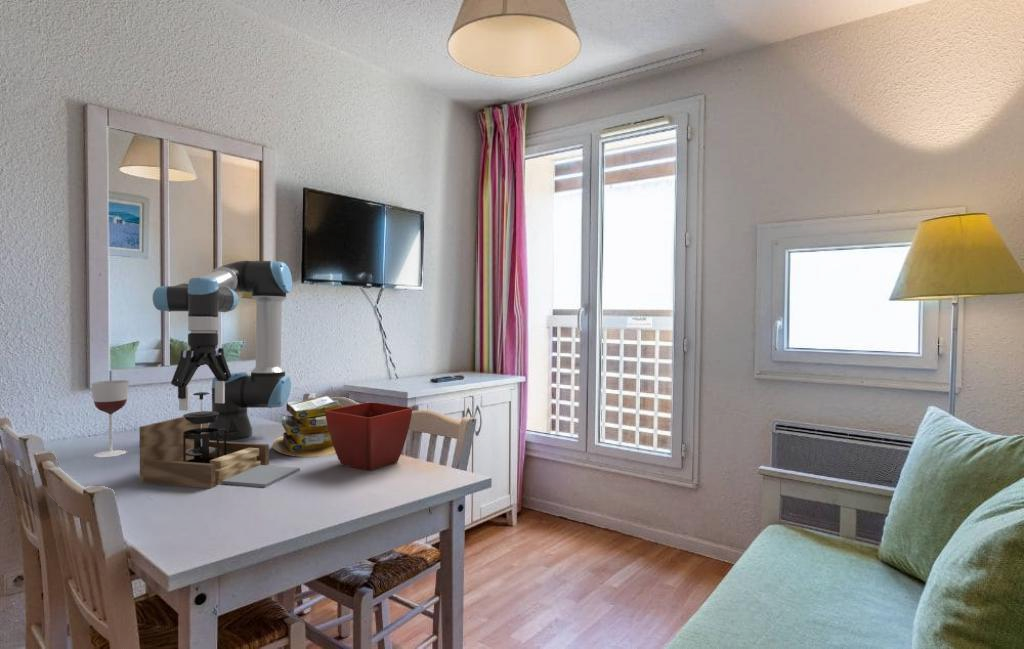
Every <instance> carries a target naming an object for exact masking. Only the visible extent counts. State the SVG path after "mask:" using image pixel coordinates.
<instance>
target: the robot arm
mask: <svg viewBox="0 0 1024 649" xmlns="http://www.w3.org/2000/svg"><path fill="white" fill-rule="evenodd" d="M292 277H293V276H292V274H291V270H290V268H289V266H288V265H287V264H286V263H285V262H283V261H275V260H241V261H235V262H230V263H227V264H224V265H221V266H218V267H216V268H214V269H212V271H211V272H210V273H207V274H205V275H203V276H202V275H201V276H199V277H191V278H190V279H189V280H187V281H185V282H183V283H179V284H177V285H173V286H172V285H171V286H169V285H164V286H158V287H156V288H155V289H154V291H153V294H152V304H153V307H155V309H156V310H158V311H161V312H169V313H170V312H187V317H188V318H187V324H188V325H187V330H188V331H189V333H188V334H187V345H188V347H190V349H189V350H188V349H186V350H185V349H183V350H181V351H180V357H179V361H178V364H177V366H176V369H175V372H174V374H173V377H172V380H171V382H170V385H172V386H174V387H176V388H177V398H178V400H179V401H178V410H179V411H181V412H182V411H185V412H186V411H187V412H188V411H190V409H191V408H190V407H191V406H190V404H191V401H190V399H191V398H190V397H191V396H190V395H191V394H190V393H191V391H190V390H191V387H190V386H188V385H189V383H190V381H191V380H192V378H193V377H194V375H195V374H196V372H197V370H198V369H199V367H201V366H207V367H208V368H209V369H210V371H211V372H212V374H213V376H214V377H213V378H212V380H211V381H212V382H211V388H210V389H211V411H214V412H219V415H217V421H216V422H212V423H209V428H217V429H226V441H228V440H229V441H231V440H232V441H233V440H239V439H244V438H247V437H251V436H252V435H253V427H252V425H251V421H250V419H249V418H250V417H249V415H248V408H249V409H252V408H253V409H257V408H258V409H259V408H260V409H265V408H266V409H276V408H282V407H283V406H285V404H287V401H288V399H289V397H290V393H291V387H292V382H291V378H290V376H288V375H286V370H285V369H284V368H283V367H282V317H283V316H282V314H283V313H282V311H283V310H282V308H283V307H282V304H283V302H284V301H285V299H287V294H289V293H291V292H292V290H293V289H292V288H293V279H292ZM237 293H251V298H253V300H254V301H255V302H256V307H255V308H256V309H255V310H256V312H255V313H256V318H255V325H256V326H255V338H256V339H255V367H254V368H253V369H252V370H250V375H248V372H247V371H240V372H231V371H230V369H229V366H228V363H227V360H226V357H225V352H224V347H216V346H218V345H219V334H218V333H217V331H219V313H229V312H232V311H233V310H235V309H236V308H237V306H238V304H239V296H238V294H237ZM209 433H212V432H209ZM209 441H217V436H215V437H211V438H209ZM219 441H224V431H219Z"/></svg>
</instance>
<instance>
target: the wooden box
mask: <svg viewBox="0 0 1024 649" xmlns="http://www.w3.org/2000/svg"><path fill="white" fill-rule="evenodd" d="M209 424H210V423H206V424H202V428H209ZM198 428H201V424H193V423H191V422H190V421H187V420H186V418H185V417H183V416H180V417H176V418H172V419H167V420H163V421H159V422H154V423H150V424H146V425H142V426H139V483H142V484H143V483H145V484H155V485H166V486H178V487H179V486H180V487H191V488H202V489H203V488H204V489H213V488H215V487H216V485H215V464H208V463H195V462H183V432H184V431H187V430H191V429H198ZM206 433H209V432H204V433H202V434H206ZM185 444H186V450H189V449H193V448H194V439H185ZM269 446H270V445H269V443H268V444H266V443H255V442H239V441H238V442H237V441H226V455H228V454H231V453H234V452H237V451H240V450H243V449H246V448H259V455H258V456H257V461H260V465H268V466H269V463H270V462H269V459H270V458H269V457H270V456H269V454H270V453H269V452H270V450H269V448H270V447H269ZM209 447H215V448H217V440H209ZM222 456H224V440H219V457H222ZM209 457H215V458H217V452H216V453H213V454H209ZM201 458H202V456H201ZM190 459H194V456H187V455H186V461H187V460H190Z"/></svg>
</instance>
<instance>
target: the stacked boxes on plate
mask: <svg viewBox="0 0 1024 649" xmlns="http://www.w3.org/2000/svg"><path fill="white" fill-rule="evenodd" d="M285 404H286V412H288V413H289V414H291V415H286V414H281V422H282V424H281V426H282V427H283V429H284V431H285V432H283V434H282V435H281V436H278V437H276V439H274V440H273V442H272V447H273V449H274V450H275V451H277V452H279V453H280V454H284V455H286V456H293V457H300V458H301V457H305V458H310V457H319V456H328V455H333V454H336V452H335V449H334V446H333V443H332V440H331V437H330V433H329V429H328V425H327V421H326V415H325V410H330V409H335V408H340V407H343V405H342V404H340V403H339V400H335V399H333V398H331V397H329V396H327V395H326V396H322V397H321V396H320V397H318V398H311V399H305V400H296V401H288V402H286V403H285Z"/></svg>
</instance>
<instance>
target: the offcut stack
mask: <svg viewBox="0 0 1024 649" xmlns="http://www.w3.org/2000/svg"><path fill="white" fill-rule="evenodd" d="M258 455H259V448H246V449H243V450H240V451H237V452H234V453H231V454H228V455H225V456H222V457H219V458H216V459H212V460H210V464H215V486H219V485H221V484H222V481H223V480H225V479H228V478H230V477H232V476H235V475H237V474H240V473H242V472H244V471H247V470H249V469H252V468H254V467H256V466H259V465H260V461H257V456H258Z"/></svg>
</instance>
